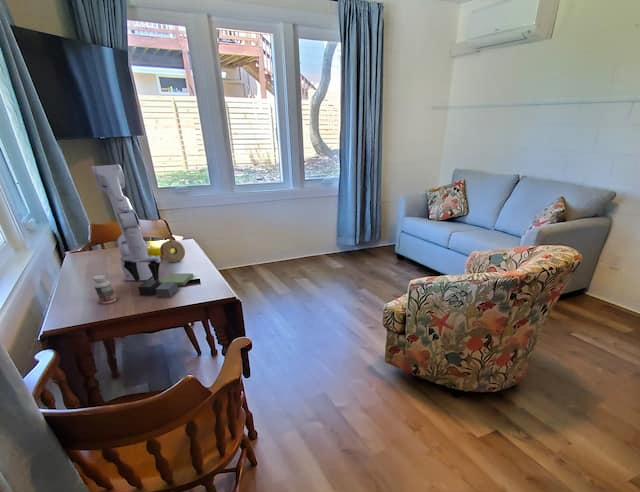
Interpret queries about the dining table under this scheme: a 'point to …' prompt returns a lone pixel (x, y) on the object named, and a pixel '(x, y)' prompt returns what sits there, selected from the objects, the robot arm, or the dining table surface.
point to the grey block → (167, 289)
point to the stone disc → (170, 256)
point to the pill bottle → (104, 289)
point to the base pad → (178, 278)
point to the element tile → (156, 248)
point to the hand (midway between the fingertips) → (147, 280)
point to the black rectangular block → (148, 287)
